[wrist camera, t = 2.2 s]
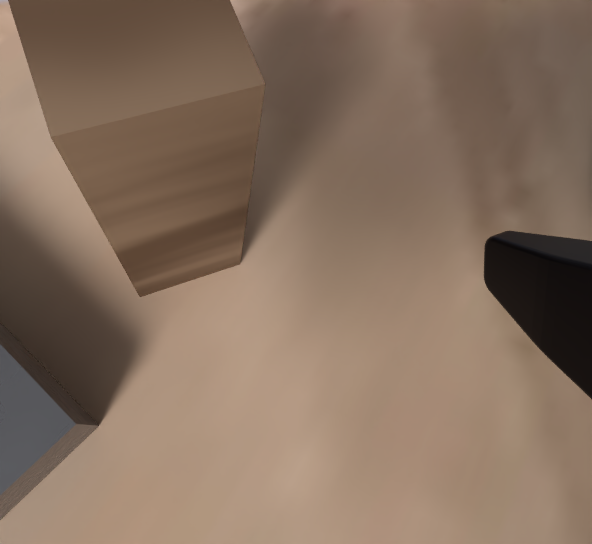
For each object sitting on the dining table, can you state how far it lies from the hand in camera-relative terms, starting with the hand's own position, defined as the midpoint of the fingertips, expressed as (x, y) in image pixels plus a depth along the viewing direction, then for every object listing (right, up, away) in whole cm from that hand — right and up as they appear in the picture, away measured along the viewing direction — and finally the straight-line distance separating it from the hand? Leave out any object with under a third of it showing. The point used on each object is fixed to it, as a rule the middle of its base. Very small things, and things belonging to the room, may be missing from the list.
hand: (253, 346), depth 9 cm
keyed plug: (-5, +3, +14) cm, 15 cm away
